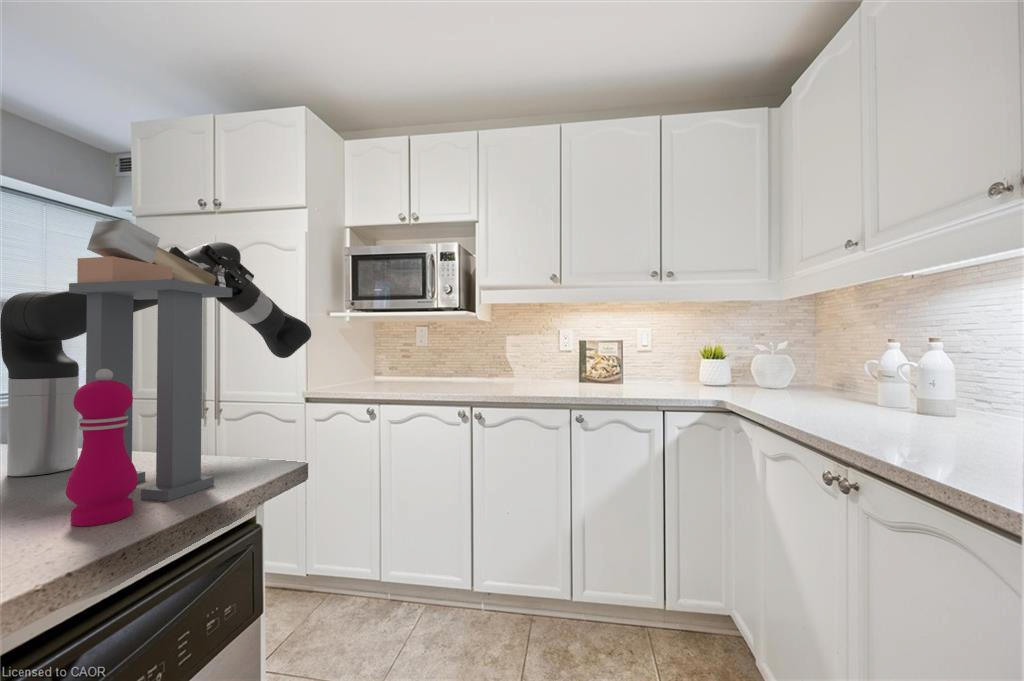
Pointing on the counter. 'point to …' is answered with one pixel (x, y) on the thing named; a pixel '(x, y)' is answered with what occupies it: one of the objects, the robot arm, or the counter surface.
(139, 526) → the counter surface
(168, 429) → the shelf
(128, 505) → the pepper mill
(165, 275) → the base block
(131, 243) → the mallet
